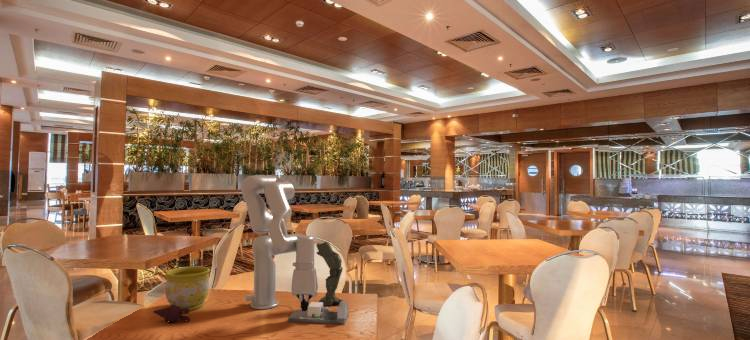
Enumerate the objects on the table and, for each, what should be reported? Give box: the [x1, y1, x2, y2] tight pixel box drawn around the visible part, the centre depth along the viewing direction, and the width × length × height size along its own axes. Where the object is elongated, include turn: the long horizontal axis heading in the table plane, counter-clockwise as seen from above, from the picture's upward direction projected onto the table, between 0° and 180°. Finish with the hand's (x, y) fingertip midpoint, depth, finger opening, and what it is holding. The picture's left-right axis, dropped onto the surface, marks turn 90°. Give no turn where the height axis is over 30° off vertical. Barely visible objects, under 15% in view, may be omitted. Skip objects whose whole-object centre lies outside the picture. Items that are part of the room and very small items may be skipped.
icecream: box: [153, 304, 191, 323], centre depth 156 cm, size 7×7×15 cm
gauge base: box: [287, 300, 350, 325], centre depth 160 cm, size 23×10×6 cm, turn 84°
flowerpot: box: [164, 265, 211, 311], centre depth 173 cm, size 18×18×16 cm
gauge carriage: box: [307, 301, 330, 317], centre depth 159 cm, size 8×8×4 cm
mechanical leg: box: [315, 240, 344, 307], centre depth 180 cm, size 14×7×30 cm, turn 84°
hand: (304, 310), depth 161 cm, fingers closed
